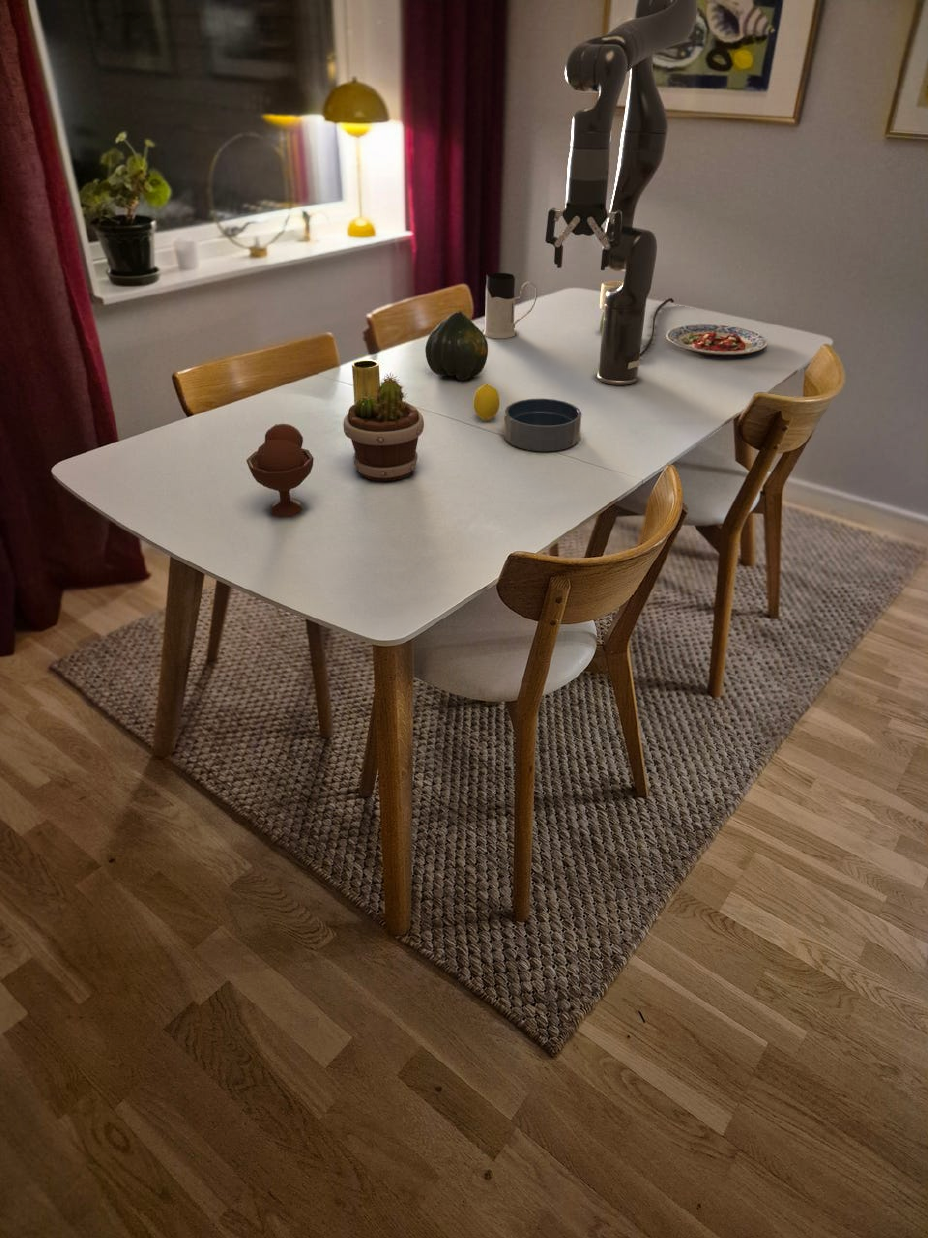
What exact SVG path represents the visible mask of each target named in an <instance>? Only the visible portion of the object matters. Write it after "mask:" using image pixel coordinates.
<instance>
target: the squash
mask: <svg viewBox="0 0 928 1238" xmlns="http://www.w3.org/2000/svg"><path fill="white" fill-rule="evenodd" d="M483 333H484V332H482V330H481V329H480V328H479V327H478V326H477V325H476V324H475V323H474V322H473V321H472V320H471V319H470V318H469V317H468V316H467V315H466V314H465V313H463V312H462V311H461V310H458V311H456V312H453V313H451V314H450V315H448V316H447V317H446V318H444V319H442V320H441V322H439V323H438V324H437V325H436V326H435V327H434V329H432V331H431V333H430V334H429V336H428V338H427V341H426V344H425V348H424V349H425V351H424V352H425V358H426V361H427V364H428V367H429V368H430V369H431V371H432V372H433V373H434V374H435V375H438V376H442V377H446V376H450V377H454V376H455V377H456V378H457V379H458V380H460V381H466V380H468V379H469V378H474V377H477V376H478V375H480V374H481V372H482V371H483V369H485V366H486V364H487V359H488V355H489V344H488V343H489V342H488V340H487V338H486V336H485V335H484V334H483Z"/></svg>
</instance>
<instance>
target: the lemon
mask: <svg viewBox="0 0 928 1238" xmlns="http://www.w3.org/2000/svg"><path fill="white" fill-rule="evenodd" d="M472 406H473V410H474V413H475V414H476V415H477V416H478V417H479V418H481V419H482V420H484V421H485V422H487V421H489V420H490V419H492V418H493V417H494V416H496V415H497V413H498V412H499V409H500V394H499V393H498V390H497V388H496V387H494V386H493V385H490V384H489V383H484V384H483V385H481V386H479V387H478V388H477V389H476V390H475V392H474V394H473V400H472Z"/></svg>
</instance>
